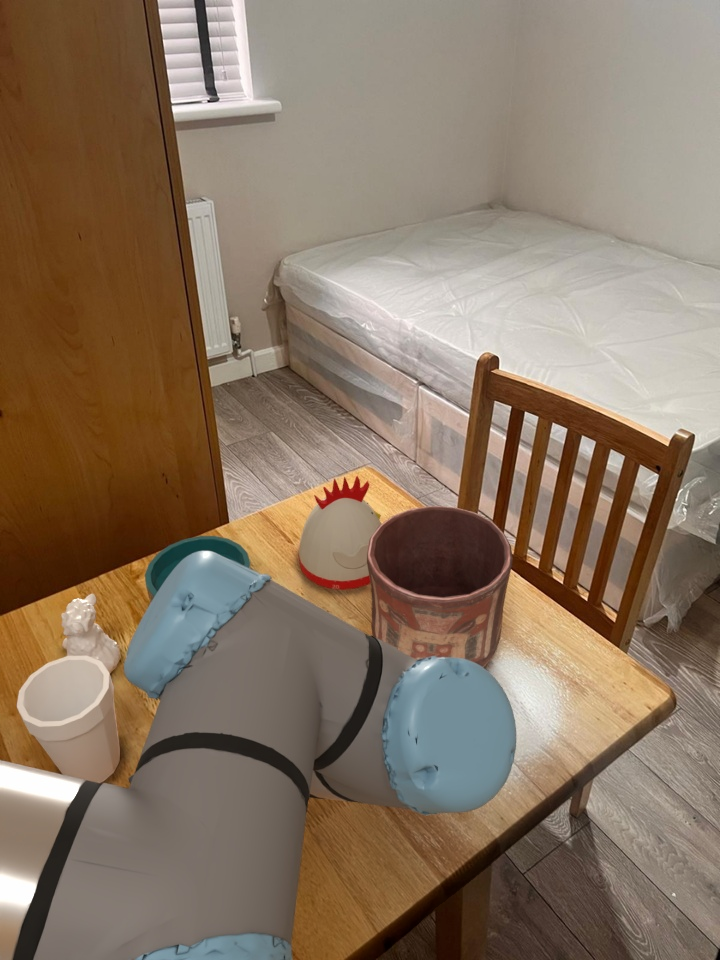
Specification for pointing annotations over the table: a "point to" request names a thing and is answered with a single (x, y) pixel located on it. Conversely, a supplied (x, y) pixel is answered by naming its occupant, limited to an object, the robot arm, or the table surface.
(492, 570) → the pottery
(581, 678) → the table surface
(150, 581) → the bowl
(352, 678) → the robot arm
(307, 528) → the kitchen timer
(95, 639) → the white creature statuette
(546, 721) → the table surface
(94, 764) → the foam cup
